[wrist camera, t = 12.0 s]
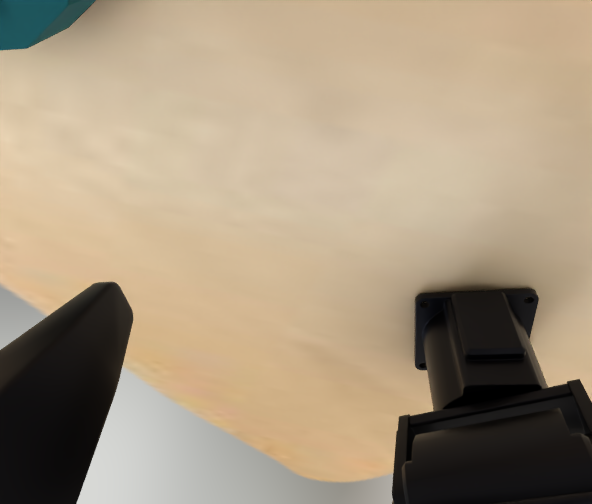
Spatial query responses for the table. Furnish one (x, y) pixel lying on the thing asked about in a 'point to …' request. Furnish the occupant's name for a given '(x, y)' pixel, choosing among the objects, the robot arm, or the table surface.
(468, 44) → the table surface
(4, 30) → the ring
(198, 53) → the table surface
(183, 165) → the table surface
